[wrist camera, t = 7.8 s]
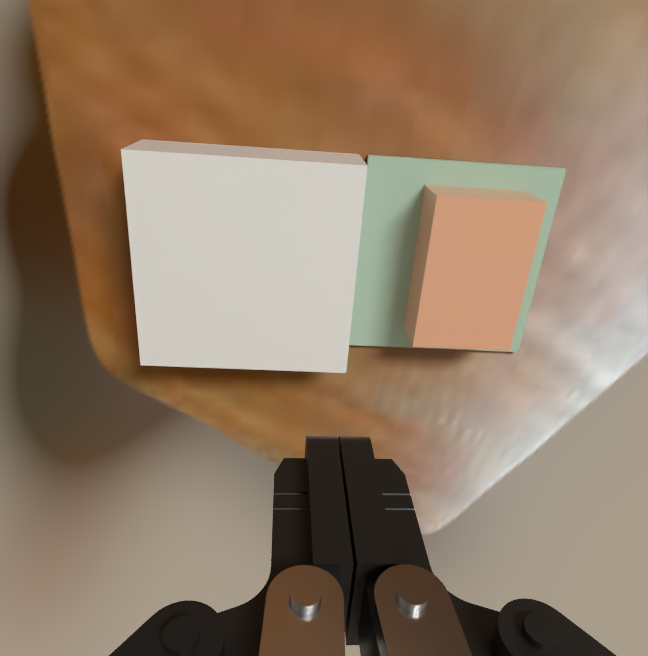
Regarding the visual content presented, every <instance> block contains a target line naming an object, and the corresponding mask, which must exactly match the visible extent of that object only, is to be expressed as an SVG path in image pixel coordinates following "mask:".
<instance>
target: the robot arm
mask: <svg viewBox="0 0 648 656" xmlns="http://www.w3.org/2000/svg"><path fill="white" fill-rule="evenodd" d="M273 501H274V502H273V529H272V559H271V572H270V576H269V579H268V581H267V583H266V585H265V586H264V588H263V589H262V590H261V591H260V592H259V594H258V595H256V596H255V597H254V598H253V599H251V600H250V601H248V602H246V603H245V604H242V605H240V606H237V607H235V608H231V609H228V610H226V611H222V612H219V613H217V612H216V611H215V610H214V609H212V608H211V607H210V606H208V605H206V604H204V603H201V602H197V601H181V602H177V603H173V604H170V605H168V606H166V607H164V608H162V609H161V610H159V611H158V612H157V613H155V614H154V615H153V616H152V617H151V618H149V619H148V620H147V621H146V622H145V623H144V624H143V625H142V626H141V627H140V628H139V629H138V630H137V631H135V632H134V633H133V634H132V635H131V636H130V637H129V638H128V639H127V640H126V641H125V642H123V643H122V644H121V645H120V646H119V647H118V648H117V649H116V650H115V651H114V652H112V653H111V654H110V655H109V656H345V637H346V645H360V653H361V656H616V655H615V654H613V653H612V652H611V651H609V650H608V649H607V648H606V647H604V646H603V645H602V644H600V643H599V642H598V641H596V640H595V639H594V638H592V637H591V636H590V635H588V634H587V633H586V632H585V631H583V630H582V629H581V628H579V627H578V626H577V625H575V624H574V623H573V622H571V621H570V620H569V619H567V618H566V617H565V616H564V615H562V614H561V613H560V612H558V611H557V610H555V609H554V608H552V607H551V606H549V605H547V604H545V603H542V602H540V601H536V600H532V599H517V600H513V601H511V602H509V603H507V604H506V605H505V606H504V607H503V608H502V610H501V611H500V612H498V611H494V610H491V609H488V608H485V607H481V606H478V605H474V604H471V603H468V602H466V601H463V600H461V599H459V598H457V597H456V596H454V595H453V594H451V593H450V592H448V591H447V589H446V588H445V586H444V585H443V583H442V582H441V581H440V580H439V579H438V578H437V577H436V576H435V575H434V574H433V572H432V570H431V567H430V564H429V560H428V557H427V553H426V550H425V546H424V542H423V539H422V535H421V531H420V528H419V524H418V521H417V517H416V513H415V511H414V506H413V503H412V499H411V496H410V492H409V488H408V485H407V481H406V477H405V474H404V473H403V472H402V471H401V470H400V468H399V467H398V466H397V465H396V464H395V463H394V461H393V460H392V459H375V458H374V453H373V449H372V444H371V440H370V438H369V437H338V439H337V437H326V436H306V445H305V458H284V459H283V461H282V462H281V464H280V465H279V467H278V469H277V470H276V472H275V474H274V500H273ZM344 633H345V634H344Z"/></svg>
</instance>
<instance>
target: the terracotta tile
mask: <svg viewBox="0 0 648 656" xmlns="http://www.w3.org/2000/svg"><path fill="white" fill-rule="evenodd" d="M546 205H547V202H545V201H543V200H541V199H540V198H538V197H536V196H534V195H532V194H530V193H528V192H526V191H518V190H502V189H486V188H471V187H455V186H439V185H424V192H423V198H422V205H421V212H420V218H419V225H418V232H417V238H416V245H415V252H414V258H413V265H412V272H411V279H410V285H409V292H408V299H407V305H406V312H405V319H404V328H405V330H406V332H407V335H408V337H409V340H410V342H411V344H412V347H426V348H451V349H476V350H501V351H510V348H511V344H512V340H513V336H514V332H515V329H516V325H517V321H518V317H519V313H520V309H521V305H522V301H523V297H524V293H525V289H526V285H527V281H528V277H529V273H530V269H531V265H532V261H533V257H534V253H535V249H536V245H537V241H538V237H539V233H540V229H541V225H542V221H543V217H544V213H545V209H546Z"/></svg>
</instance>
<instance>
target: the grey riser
mask: <svg viewBox="0 0 648 656" xmlns="http://www.w3.org/2000/svg"><path fill="white" fill-rule="evenodd" d="M121 155H122V166H123V177H124V188H125V199H126V210H127V221H128V232H129V243H130V255H131V266H132V277H133V288H134V299H135V310H136V321H137V332H138V343H139V354H140V365H145V366H172V367H199V368H226V369H253V370H280V371H307V372H334V373H346V369H347V360H348V350H349V340H350V331H351V321H352V311H353V302H354V292H355V282H356V273H357V263H358V253H359V244H360V234H361V225H362V215H363V205H364V196H365V186H366V176H367V167H368V165H367V164H366V163H365V161H364V160H363V159H362V157H361V156H360V155H359V154H351V153H336V152H322V151H307V150H292V149H277V148H263V147H248V146H233V145H219V144H204V143H189V142H175V141H160V140H145V139H142V140H140V141H138V142H136V143H133V144H131V145H129V146H127V147H125V148H123V149H121Z"/></svg>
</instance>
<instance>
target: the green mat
mask: <svg viewBox="0 0 648 656" xmlns="http://www.w3.org/2000/svg"><path fill="white" fill-rule="evenodd" d="M367 165H368V167H367V176H366V186H365V196H364V205H363V215H362V225H361V234H360V244H359V253H358V263H357V273H356V282H355V292H354V302H353V311H352V321H351V331H350V340H349V345H358V346H382V347H407V348H426V347H412V344H411V342H410V340H409V337H408V335H407V332H406V330H405V328H404V319H405V312H406V305H407V299H408V292H409V285H410V279H411V272H412V265H413V258H414V252H415V245H416V238H417V232H418V225H419V218H420V212H421V205H422V198H423V192H424V185H439V186H455V187H471V188H486V189H502V190H518V191H526V192H528V193H530V194H532V195H534V196H536V197H538V198H540V199H541V200H543V201H545V202H547V205H546V209H545V213H544V217H543V221H542V225H541V229H540V233H539V237H538V241H537V245H536V249H535V253H534V257H533V261H532V265H531V269H530V273H529V277H528V281H527V285H526V289H525V293H524V297H523V301H522V305H521V309H520V313H519V317H518V321H517V325H516V329H515V332H514V336H513V340H512V344H511V348H510V351H504V352H519V348H520V344H521V340H522V336H523V333H524V329H525V325H526V321H527V317H528V313H529V310H530V306H531V302H532V298H533V294H534V290H535V287H536V283H537V279H538V275H539V271H540V268H541V264H542V260H543V256H544V252H545V248H546V245H547V241H548V237H549V233H550V229H551V225H552V222H553V218H554V214H555V210H556V206H557V203H558V199H559V195H560V191H561V187H562V183H563V180H564V176H565V172H566V169H565V168H557V167H542V166H527V165H513V164H498V163H483V162H468V161H454V160H439V159H424V158H410V157H395V156H380V155H368V157H367ZM431 349H451V348H431ZM455 350H476V349H455ZM480 351H501V350H480Z"/></svg>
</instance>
